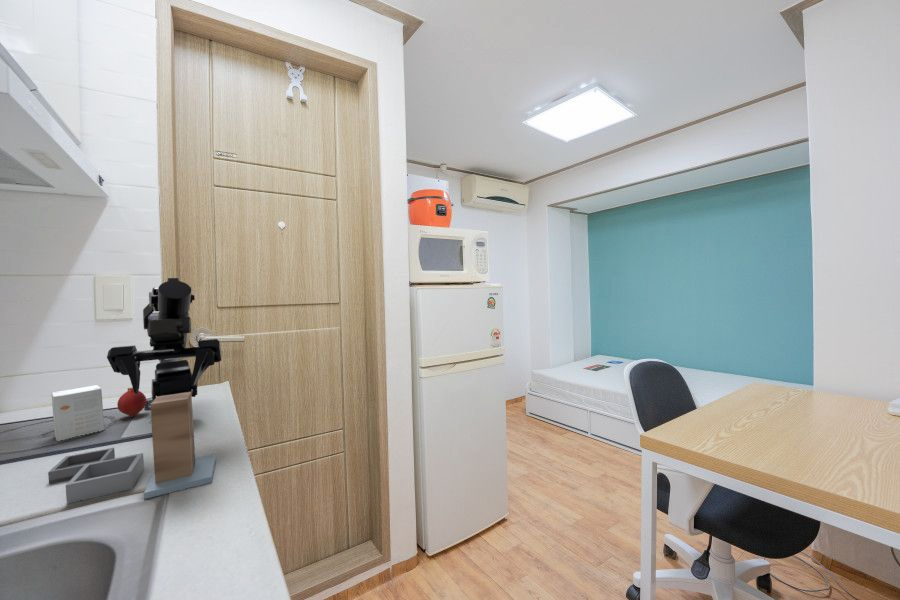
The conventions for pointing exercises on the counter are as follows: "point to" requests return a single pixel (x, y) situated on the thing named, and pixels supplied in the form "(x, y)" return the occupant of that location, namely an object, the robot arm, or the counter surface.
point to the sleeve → (105, 478)
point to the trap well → (77, 464)
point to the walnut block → (173, 436)
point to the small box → (77, 412)
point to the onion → (131, 402)
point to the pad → (184, 478)
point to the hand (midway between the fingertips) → (165, 388)
